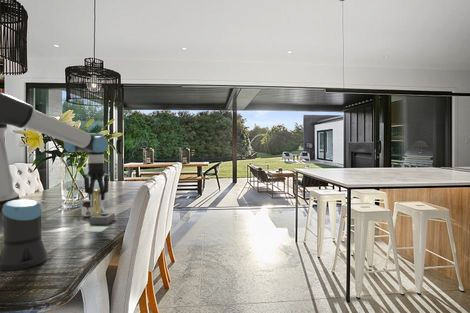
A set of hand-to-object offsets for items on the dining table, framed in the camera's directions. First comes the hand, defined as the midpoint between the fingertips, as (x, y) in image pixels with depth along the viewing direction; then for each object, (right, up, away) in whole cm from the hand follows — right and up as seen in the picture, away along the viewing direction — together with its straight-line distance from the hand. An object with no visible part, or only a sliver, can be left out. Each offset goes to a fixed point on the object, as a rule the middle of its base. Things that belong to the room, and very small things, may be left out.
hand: (96, 205), depth 150 cm
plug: (0, -5, 0) cm, 5 cm away
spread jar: (-16, -12, +29) cm, 35 cm away
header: (-4, -12, +15) cm, 20 cm away
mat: (0, -13, 0) cm, 13 cm away
